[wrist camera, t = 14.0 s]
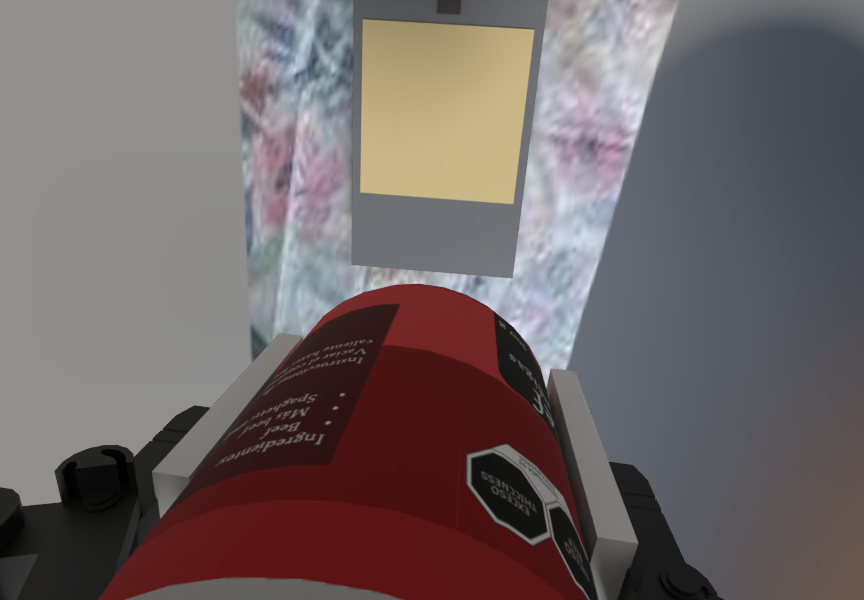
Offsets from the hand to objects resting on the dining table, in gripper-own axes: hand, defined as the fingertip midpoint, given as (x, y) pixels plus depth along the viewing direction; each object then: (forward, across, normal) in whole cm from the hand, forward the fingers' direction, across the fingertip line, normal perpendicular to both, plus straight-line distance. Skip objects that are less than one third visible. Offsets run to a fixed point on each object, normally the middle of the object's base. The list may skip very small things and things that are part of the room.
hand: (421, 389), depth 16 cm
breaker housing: (+19, +2, -11) cm, 22 cm away
